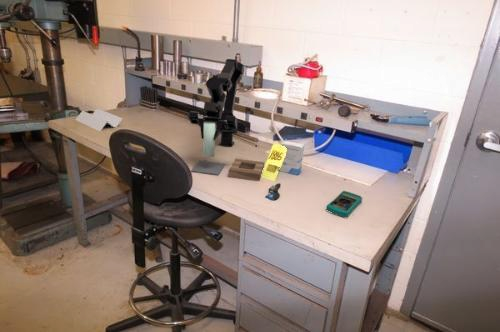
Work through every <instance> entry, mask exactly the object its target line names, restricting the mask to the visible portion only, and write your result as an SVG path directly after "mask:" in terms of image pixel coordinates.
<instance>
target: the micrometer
mask: <svg viewBox="0 0 500 332" xmlns="http://www.w3.org/2000/svg"><path fill="white" fill-rule="evenodd" d="M280 188H281V183H280V182H279V183H276V184H275V185H271V186H270V188H268V194H267V195H265V198H266V199H269V200H271V201H277V200H278V199H279V198H280V197H281V194H280V193H279V189H280ZM270 195H271V196H270Z"/></svg>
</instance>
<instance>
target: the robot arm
mask: <svg viewBox="0 0 500 332" xmlns="http://www.w3.org/2000/svg"><path fill="white" fill-rule="evenodd" d="M224 63H225V64H224V65H223V68H222V69H221V71H220V73H216V74H213V75H212V77H210V78H208V79H207V80H206V82H205V86H206V88H207V89H206V90H207V92H208V95H209V96H210V100H209V101H204V104H203V111H204V114H205V115H203V114H201V113H200V112H199V111H195V110H194V111H193V110H191V111H189V112H188V114H187V118H188V120H189V122H190V123H191V124H192V125H198V126H199V127H200V136H201V139H202V140H203V138H204V122H214V123H216V127H215V135H214V140H215V141H216V140H217V138H218V137H219V136H220V141H219V143H218V146H222V147H231V148H232V147H233V145H234V144H235V141H234V139H233V138H234V135H235V134H238V120H237V117H236V116H235V115H234V109H235V103H236V97H235V95H237V90H238V85H239V83H240V81H242V79H243V75H245V66H244V64H243V63H241V62H239V61H238V60H237V59H232V58H226V60H225V62H224Z"/></svg>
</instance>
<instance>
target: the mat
mask: <svg viewBox="0 0 500 332" xmlns="http://www.w3.org/2000/svg"><path fill="white" fill-rule="evenodd" d="M225 166H226V163H223V162H215V161H209V160H208V161H207V160H198V162H197V163H196V164H195V165H194V166H193V168H192V169H191V170H190V172H191V173H197V174H202V175H203V174H204V175H210V176H211V175H213V176H219V175H220V174H221V173H222V170H223V169H224V168H225Z"/></svg>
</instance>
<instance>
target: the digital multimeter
mask: <svg viewBox="0 0 500 332" xmlns="http://www.w3.org/2000/svg"><path fill="white" fill-rule="evenodd" d="M362 201H363V196H361V195H359V194H357V193H353V192H351V191H346V190H342V191H341V192H340V193H339V194H338V195H337V196H336V197H335V198H334V199H332V201H331V202H329V203H328V204H326V207H325V208H326V209H325V211H326V210H328V211H330V212H332V213H334V214H333V215H335V214H337V215H341V216H344V217H347V218H349V216H350V215H351V213H352V212H353V211H354V210H355V209H356V208H357V207H358V206H359V205H360V204H361V203H362ZM328 211H327V212H328ZM330 212H329V213H330ZM332 213H331V214H332ZM349 214H350V215H349ZM337 215H336V216H337ZM348 215H349V216H348ZM341 216H340V217H341ZM344 217H343V218H344Z"/></svg>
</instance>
